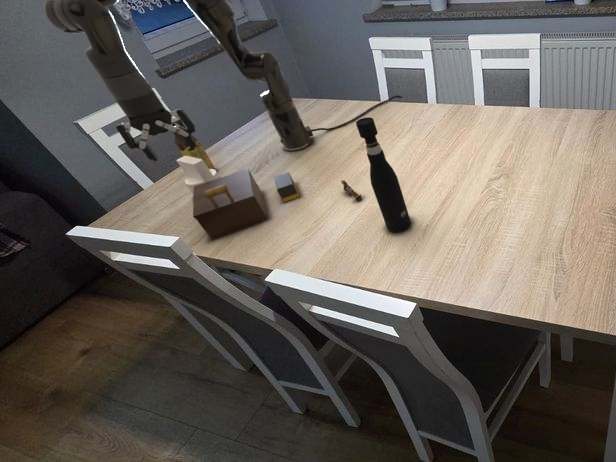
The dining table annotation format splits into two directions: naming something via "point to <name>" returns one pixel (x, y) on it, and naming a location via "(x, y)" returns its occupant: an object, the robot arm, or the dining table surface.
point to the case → (235, 215)
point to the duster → (286, 187)
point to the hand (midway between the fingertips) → (175, 154)
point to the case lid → (222, 193)
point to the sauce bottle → (185, 148)
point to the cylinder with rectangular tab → (196, 171)
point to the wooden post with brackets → (350, 190)
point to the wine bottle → (384, 180)
